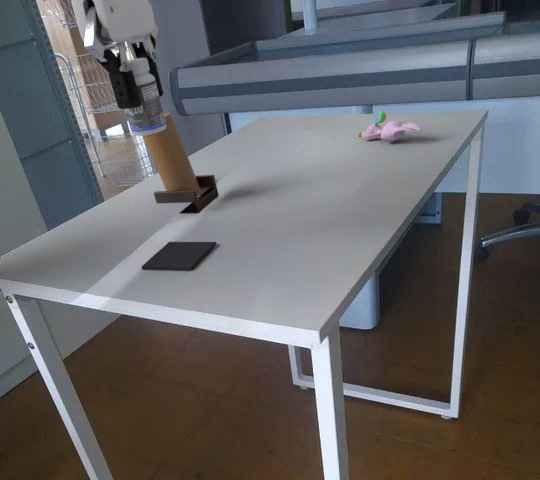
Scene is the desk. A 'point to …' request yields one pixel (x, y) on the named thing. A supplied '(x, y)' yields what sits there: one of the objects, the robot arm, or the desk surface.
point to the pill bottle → (145, 101)
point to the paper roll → (172, 158)
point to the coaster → (179, 256)
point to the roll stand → (191, 195)
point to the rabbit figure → (387, 129)
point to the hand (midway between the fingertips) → (141, 100)
